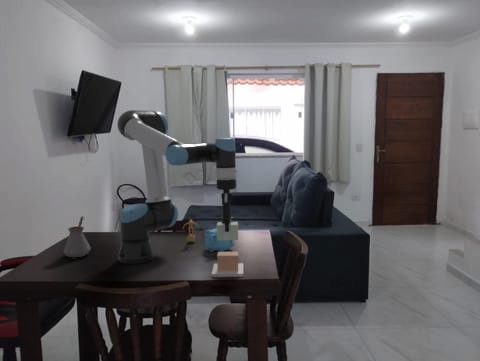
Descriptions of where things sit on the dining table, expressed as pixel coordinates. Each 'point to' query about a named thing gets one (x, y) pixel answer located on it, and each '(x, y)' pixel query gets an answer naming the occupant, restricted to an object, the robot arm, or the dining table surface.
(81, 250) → the coffee pot
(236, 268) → the terracotta brick
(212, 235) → the teapot
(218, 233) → the sage brick
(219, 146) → the robot arm
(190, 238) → the figurine
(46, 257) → the dining table surface
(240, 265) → the base plate
